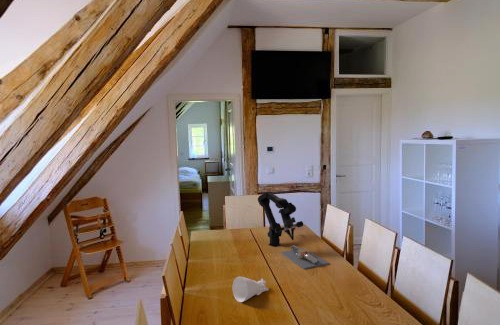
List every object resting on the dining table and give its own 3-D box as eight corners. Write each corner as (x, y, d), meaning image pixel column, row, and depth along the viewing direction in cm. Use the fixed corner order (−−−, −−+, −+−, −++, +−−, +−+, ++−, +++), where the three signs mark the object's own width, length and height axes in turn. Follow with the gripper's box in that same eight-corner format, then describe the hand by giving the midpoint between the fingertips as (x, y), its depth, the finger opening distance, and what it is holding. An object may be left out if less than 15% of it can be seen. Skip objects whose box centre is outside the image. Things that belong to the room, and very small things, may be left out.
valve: (289, 251, 216) (289, 244, 216) (297, 250, 218) (297, 243, 218) (311, 266, 192) (311, 258, 192) (320, 264, 195) (320, 256, 194)
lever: (294, 253, 204) (304, 251, 194) (298, 253, 205) (308, 250, 195) (295, 257, 203) (305, 254, 193) (299, 256, 204) (308, 254, 194)
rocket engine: (268, 269, 167) (241, 271, 156) (278, 290, 160) (250, 294, 149) (256, 281, 173) (229, 284, 161) (265, 302, 165) (237, 306, 154)
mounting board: (281, 253, 215) (281, 252, 215) (303, 249, 222) (304, 247, 222) (304, 269, 189) (304, 267, 189) (329, 264, 196) (329, 262, 196)
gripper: (272, 218, 208) (279, 241, 202) (300, 210, 209) (308, 234, 203) (272, 221, 219) (279, 244, 213) (298, 214, 220) (306, 237, 214)
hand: (293, 239), depth 210 cm, fingers closed
